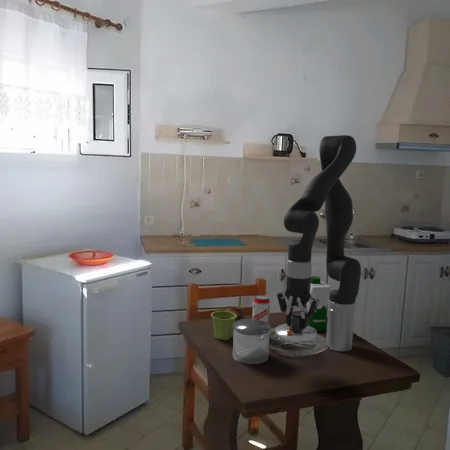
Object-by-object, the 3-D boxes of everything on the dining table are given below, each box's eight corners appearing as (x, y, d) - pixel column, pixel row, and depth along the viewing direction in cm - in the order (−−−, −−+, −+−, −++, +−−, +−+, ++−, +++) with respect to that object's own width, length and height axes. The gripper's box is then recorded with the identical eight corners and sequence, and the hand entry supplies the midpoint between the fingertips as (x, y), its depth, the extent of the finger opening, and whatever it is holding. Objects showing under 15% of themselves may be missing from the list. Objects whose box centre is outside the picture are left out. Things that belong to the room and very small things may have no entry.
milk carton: (319, 323, 200) (322, 275, 197) (329, 331, 191) (333, 281, 188) (299, 324, 197) (302, 276, 194) (309, 332, 189) (312, 282, 186)
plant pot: (227, 331, 187) (227, 309, 186) (240, 339, 179) (241, 317, 178) (205, 335, 182) (206, 312, 181) (218, 344, 174) (219, 320, 173)
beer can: (267, 342, 177) (269, 300, 175) (250, 340, 178) (252, 298, 176) (269, 336, 183) (271, 295, 181) (252, 334, 185) (254, 293, 182)
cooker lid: (287, 323, 163) (288, 306, 162) (323, 332, 155) (324, 314, 154) (267, 335, 152) (268, 316, 151) (305, 346, 145) (306, 326, 144)
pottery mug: (214, 323, 197) (221, 304, 199) (233, 331, 200) (240, 312, 202) (227, 325, 186) (234, 305, 188) (247, 334, 189) (254, 314, 191)
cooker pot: (244, 346, 173) (246, 316, 172) (275, 355, 166) (277, 324, 164) (224, 357, 163) (225, 326, 161) (256, 368, 156) (258, 335, 154)
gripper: (325, 275, 150) (322, 329, 152) (284, 268, 158) (281, 319, 160) (314, 280, 144) (311, 336, 146) (272, 273, 152) (270, 325, 154)
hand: (296, 327), depth 153 cm, fingers closed on cooker lid, 4 cm apart
